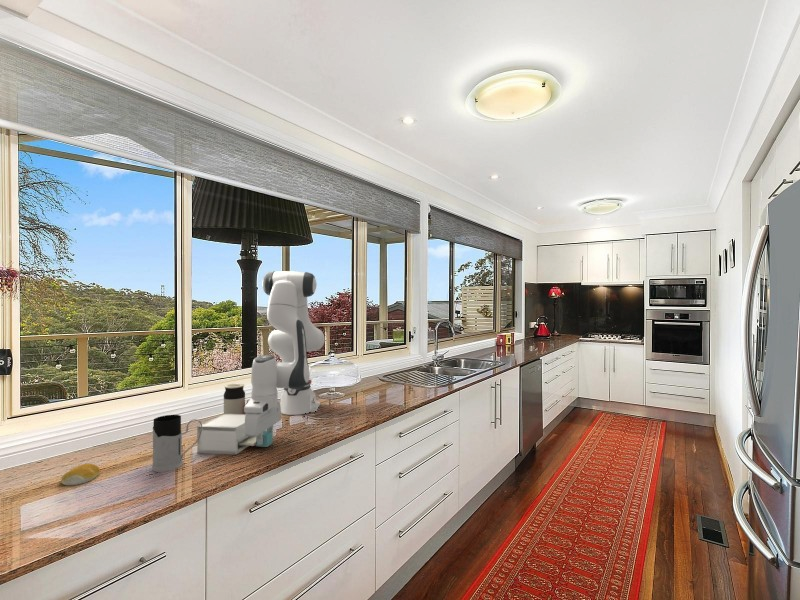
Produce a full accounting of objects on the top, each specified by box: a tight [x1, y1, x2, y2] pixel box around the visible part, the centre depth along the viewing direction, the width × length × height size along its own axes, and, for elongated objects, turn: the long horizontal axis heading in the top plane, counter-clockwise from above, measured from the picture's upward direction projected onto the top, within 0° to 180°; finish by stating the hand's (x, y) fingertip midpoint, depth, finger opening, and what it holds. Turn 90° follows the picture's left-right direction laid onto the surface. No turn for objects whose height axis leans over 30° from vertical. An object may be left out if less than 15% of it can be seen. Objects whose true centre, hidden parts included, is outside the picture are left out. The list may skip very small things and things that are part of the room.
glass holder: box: [150, 414, 203, 473], centre depth 128 cm, size 9×14×15 cm, turn 111°
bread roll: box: [60, 463, 101, 486], centre depth 118 cm, size 8×9×4 cm
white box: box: [196, 413, 249, 456], centre depth 145 cm, size 16×15×9 cm
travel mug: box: [223, 383, 246, 414], centre depth 163 cm, size 8×8×18 cm
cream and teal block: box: [238, 430, 274, 448], centre depth 144 cm, size 8×20×4 cm, turn 82°
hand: (264, 441), depth 143 cm, fingers closed on cream and teal block, 4 cm apart
